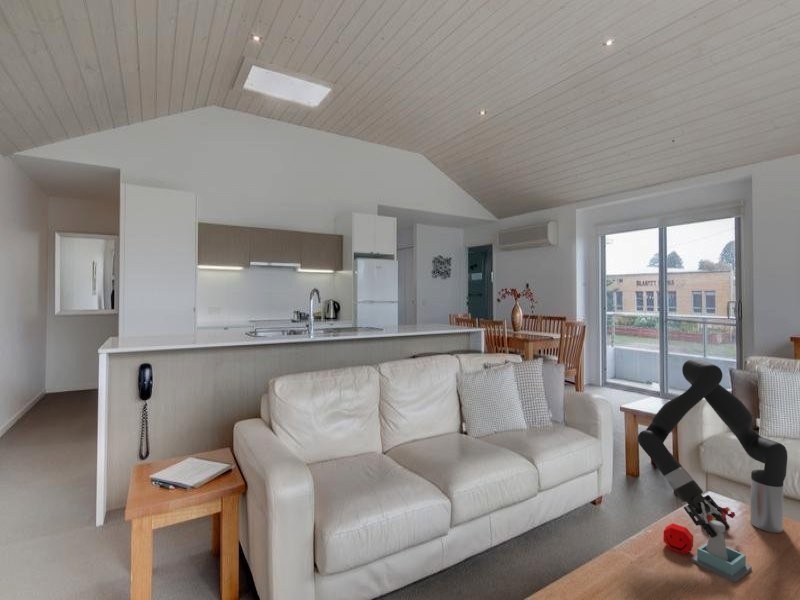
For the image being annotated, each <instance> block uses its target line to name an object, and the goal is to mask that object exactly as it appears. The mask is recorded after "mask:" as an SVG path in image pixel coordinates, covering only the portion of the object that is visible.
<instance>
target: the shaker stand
mask: <svg viewBox="0 0 800 600" xmlns="http://www.w3.org/2000/svg"><path fill="white" fill-rule="evenodd" d="M707 543H708V541H707V542H706V543H704V544H702V545H700V546H699V547H697V550H696V551H697V553H696V554H695V555H694V556H692V557H691V562H692V563H694V564H696V565H698V566H700V567H702V568H704V569H706V570H708V571H710V572H712V573H715V574H716V575H718V576H720V577H722V578H724V579H727V580H728V581H730V582H732V583H737V582H738V581H739V580H740V579H742V578H743V577H745V576H746V575H747V574H748V573H750V572H751V571H752V568H753V566H751V565H748V564H747V562H746V560H747V556H746V554H744V553H742V552H739V551H737V550H735V549H733V548H731V547H728V546H726V551H727V556H728V560H727V561H726V560H724V559H722V558H719V557H717V556H715V555H713V554H711V553H709V552H707V551H706V547H707Z"/></svg>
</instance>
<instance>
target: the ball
mask: <svg viewBox="0 0 800 600" xmlns="http://www.w3.org/2000/svg"><path fill="white" fill-rule="evenodd" d="M662 538H663V543H665V545H666V546H667V548H669V550H670V551H673V552H676V553H679V554H681V555H684V554H687V553H691V551H692V550H693V547H694V535H693V534H692V533H691V531H689V529H688V528H687V527H686V526H684V525H683V526H682V525H680V524H677V523H670V524H669V525H667V526H665V528H664V530H663V537H662Z"/></svg>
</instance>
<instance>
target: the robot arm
mask: <svg viewBox="0 0 800 600" xmlns="http://www.w3.org/2000/svg"><path fill="white" fill-rule="evenodd" d="M681 370H682V372H681V373H682V375H683V377H684V379H685V380H686V381H687V382H688V383H689V384H690V387H689V388H688V389H686V390H685V391H684V392H683V393H681V394H680V395H678V396H675V397H673V398H672V399H671V400H669V401H667V402H666V403H665V404H663V406H661V407H660V409H659V410H658V411H657V412H656V414H655V415H654V416H653V418H652V421H651V422H650V424H649V425H648V427H647V428H646V429H645V430H644V429H643V430H642V431H640V432H639V433H638V434H637V442H638V444H639V446H640V447H641V448H642V449H643V451H644V452H645V453H646V455H648V457H649V458H650V459H651V461H653V463H654V464H655V466H656V468H657V469H658V470H659V471H660V473H661V474H662V476H663V477H664V478H665V480H666V482H667V483H668V485H669V486H670V487H671V489H672V490H673V491H674V492H675V494H676V496H678V498H679V500H681V502H683V503H687V505H685V506H683V509H684V511H685V512H686V514H687V515H688V516H689V518H690V519H691V521H692V522H693V524H695V526H696V527H697V526H700V527H702V528H703V529H704V531H705V532H706V533H707V535H708V536H709V535H710V537H711V538H713V537H716V536H717V533H716V532H715V530H714V529H713V528H712V526H711V525H710V524H709V523H708V521H707V518H706V517H707V514H708V515H711V516H712V517H714V518H716V519H715V520H716V521H719V522H721V523H723V524H724V525H725V531H727V530H729V529H730V528H731V526H730V524H729V523H728V522H727V523H728V524H729V525H728V524H727V523H726V521H725V520H724V519H723V518H722V516H721V513H722V510H721V509H720V507H721V506H719V505H718V504H717V503H716V502H715V500H714V499H713V498H712V497H711V496H710V494H707V495H704V496H703V495H702V494H703V493H704V491H703V489H702V488H701V487H700V485H699V484H698V483H697V481H695V480H694V478H693V477H692V475H690V473H689V472H688V471H687V469H685V468H684V467H683V466H682V464H681V463H680V462H679V460H677V458H676V457H675V456H674V455H673V454H672V453H671V452H670V451H669V450H668V448H667V447H666V445H665V444H664V443H665V442H666V440H667V438H668V436H669V435H670V434H671V432H672V431H674V429H675V428H676V427H677V426H678V424H679V423H680V422H681V420H682V419H683V418H684V417H685V416H686V414H688V412H690V410H691V409H693V408H694V407H695V406H696V405H697V404H699V402H701V401H702V400H704V399H705V401H706V403H708V405H709V406H710V407H711V408H712V410H714V412H715V413H716V414H717V416H718V417H719V418H720V420H721V421H722V422H723V423H724V424H725V425H726V426H727V428H728V429H729V430H730V431H731V432H732V434H733V435H734V436H735V437H736V439H737V440H738V441H739V443H740V445H741V446H742V448H743V450H744V451H745V452H746V454H747V455H748V457H750V458H752V459H753V460H755V461H757V462H759V463H762V464H764V466H763V467H764V468H763V469H753V470H752V471H751V472H750V473H751V476H750V517H749V518H750V520H749V521H750V523H751V525H752V526H754V527H756V528H757V529H760V530H762V531H765V532H768V533H769V532H770V533H773V534H776V533H777V534H778V533H779V534H780V533H782V532H783V526H784V521H783V520H784V481H785V479H786V478H787V477H786V476H787V468H788V451H787V448H786V447H785V445H784V444H782V443H781V442H777V441H775V440H771V439H768V438H765V437H763V436H761V435H759V434H758V433H757V432H756V430H755V429H754V428H753V426H752V425H753V415H752V413H751V412H750V410H749V408H747V407H746V405H744V403H743V402H742V401H741V400H740V399H739V398H738V397H737V396H735V395H734V394H733V393H732V392H730V390H728V389H726V388H725V387H724V386H722V385H721V384H720V383H721V382H722V380H723V376H724V375H723V371H722V369H721V368H720V367H719V366H718V365H716V364H713V363H710V362H707V361H704V360H702V359H695V358H694V359H689V360H687V361H685V362H684V363H683V365H682V369H681ZM713 506H715V507H716V509H717V510H716V509H715V507H713ZM702 518H703V520H702ZM729 526H730V527H729Z"/></svg>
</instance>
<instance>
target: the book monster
mask: <svg viewBox="0 0 800 600" xmlns="http://www.w3.org/2000/svg"><path fill="white" fill-rule="evenodd" d="M713 507H715V506H713ZM719 507H720V509H721V510H722V513H721V516H722V518H723V519H724V520H725V521H726V523H727V524H728V525H729V527H730V528H731V526H730V524H729V523H728V521H727V517H729V518H731V519H734V518H735V516H736V514H735V512H734V511H731V508H730V507H729V506H726V507H721V506H719ZM715 509H716V507H715ZM716 510H717V509H716ZM729 512H730V513H729ZM706 518H707V521H708V523H709V521H711V520H715V519H716V518H714V517H712V516H711V515H708V514H707V517H706ZM702 520H703V518H702Z"/></svg>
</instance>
